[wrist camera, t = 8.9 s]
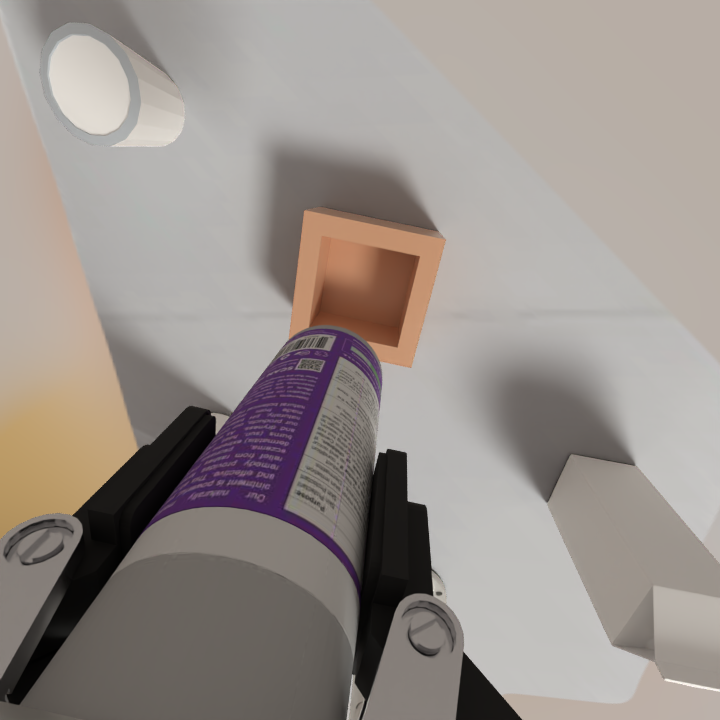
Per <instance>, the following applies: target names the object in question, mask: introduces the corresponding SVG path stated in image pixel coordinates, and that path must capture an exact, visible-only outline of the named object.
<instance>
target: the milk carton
mask: <svg viewBox="0 0 720 720" xmlns="http://www.w3.org/2000/svg"><path fill="white" fill-rule="evenodd" d="M547 505H548V508H549V510H550V512H551V514H552V517H553V519H554V521H555V523H556V525H557V527H558V530H559V532H560V534H561V536H562V538H563V540H564V543H565V545H566V547H567V549H568V551H569V554H570V556H571V558H572V560H573V562H574V564H575V567H576V569H577V571H578V573H579V575H580V577H581V580H582V582H583V584H584V586H585V588H586V591H587V593H588V595H589V597H590V599H591V601H592V604H593V606H594V608H595V610H596V612H597V615H598V617H599V619H600V621H601V623H602V625H603V628H604V630H605V632H606V634H607V636H608V638H609V640H610V642H611V644H612V646H614V647H617V648H620V649H622V650H625V651H627V652H630V653H633V654H635V655H638V656H640V657H643V658H646V659H648V660H651V661H653V662H655V664H656V666H657V668H658V670H659V672H660V673H661V675H662V677H663V679H664V680H665V681H669V682H674V683H679V684H683V685H686V686H690V687H695V688H704V689H709V690H714V691H719V692H720V564H719V562H718V561H717V560H716V559H715V558H714V556H713V555H712V554H711V553H710V552H709V551H708V549H707V548H706V547H705V546H704V545H703V544H702V542H701V541H700V540H699V539H698V538H697V536H696V535H695V534H694V533H693V532H692V531H691V529H690V528H689V527H688V526H687V525H686V523H685V522H684V521H683V520H682V519H681V518H680V516H679V515H678V514H677V513H676V512H675V510H674V509H673V508H672V507H671V506H670V505H669V503H668V502H667V501H666V500H665V499H664V497H663V496H662V495H661V494H660V493H659V492H658V490H657V489H656V488H655V487H654V486H653V485H652V483H651V482H650V481H649V480H648V479H647V477H646V476H645V475H644V474H643V473H642V472H641V470H640V469H639V468H638V467H636V466H632V465H627V464H622V463H616V462H611V461H606V460H600V459H595V458H590V457H584V456H579V455H573V454H571V455H570V457H569V459H568V461H567V463H566V465H565V467H564V469H563V471H562V474H561V476H560V478H559V480H558V482H557V484H556V486H555V488H554V491H553V493H552V495H551V497H550V499H549V501H548V504H547Z"/></svg>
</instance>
